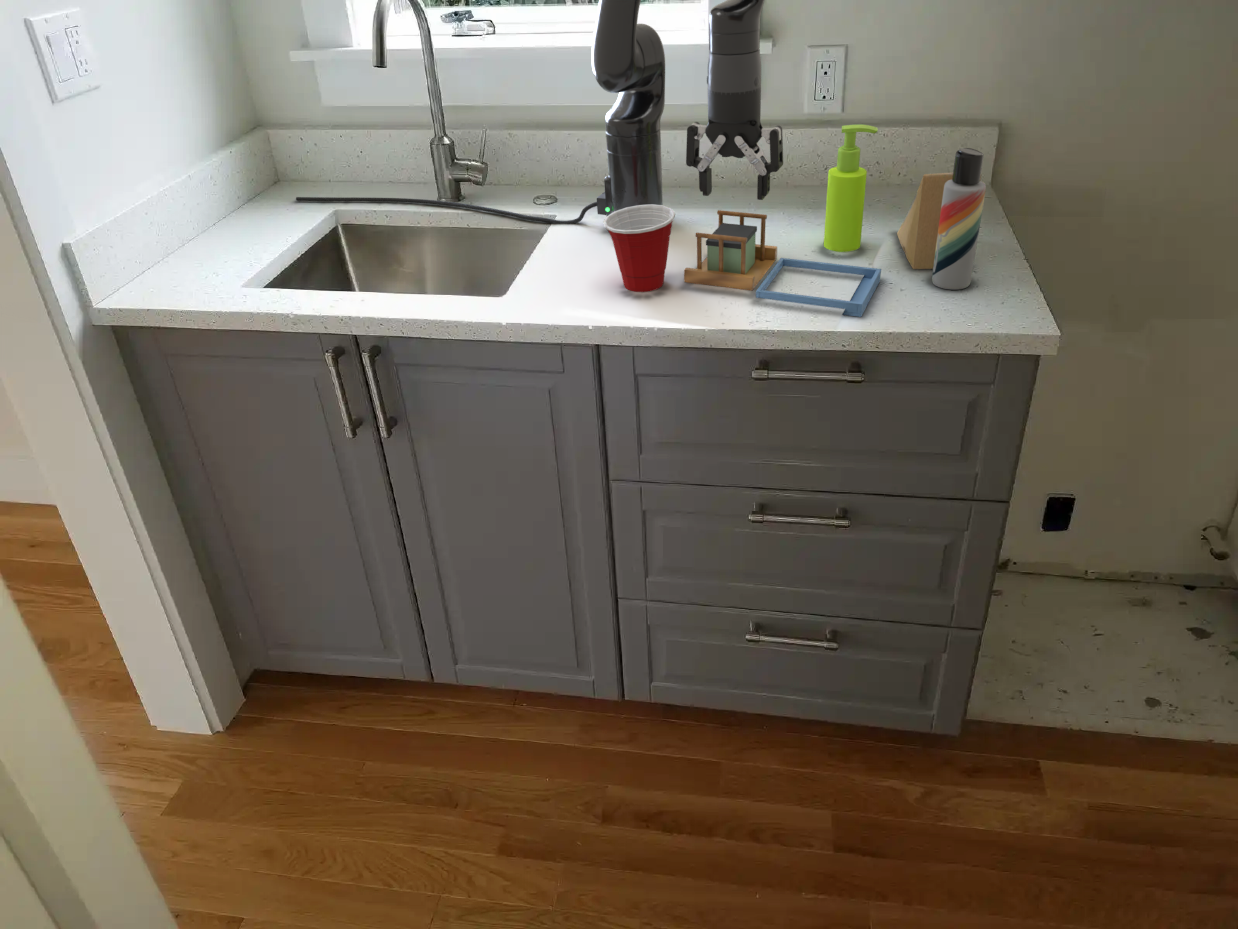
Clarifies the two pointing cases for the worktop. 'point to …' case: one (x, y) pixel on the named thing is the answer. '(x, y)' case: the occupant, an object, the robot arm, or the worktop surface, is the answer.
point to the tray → (851, 307)
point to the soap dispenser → (846, 195)
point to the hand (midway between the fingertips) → (734, 196)
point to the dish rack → (762, 259)
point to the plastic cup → (641, 244)
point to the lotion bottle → (959, 222)
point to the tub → (731, 248)
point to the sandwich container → (923, 221)
